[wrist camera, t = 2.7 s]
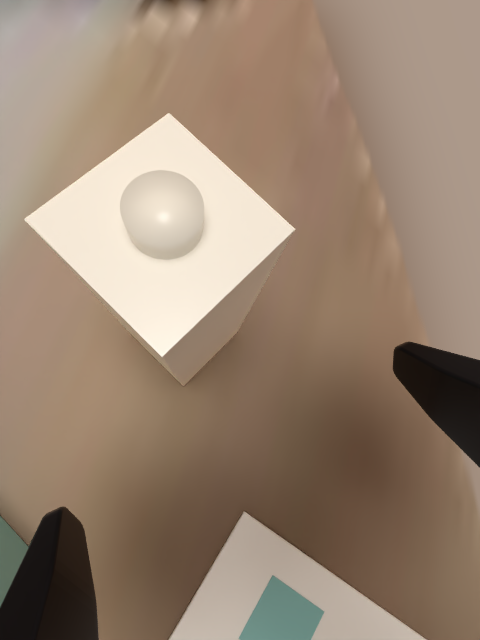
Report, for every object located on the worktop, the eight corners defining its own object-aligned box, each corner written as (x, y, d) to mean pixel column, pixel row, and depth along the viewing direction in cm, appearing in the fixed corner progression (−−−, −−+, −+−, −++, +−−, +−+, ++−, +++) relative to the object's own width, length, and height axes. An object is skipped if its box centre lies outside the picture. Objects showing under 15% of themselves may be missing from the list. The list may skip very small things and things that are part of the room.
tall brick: (237, 332, 21) (304, 212, 8) (183, 386, 20) (158, 351, 7) (184, 281, 22) (166, 86, 8) (128, 332, 21) (5, 199, 7)
